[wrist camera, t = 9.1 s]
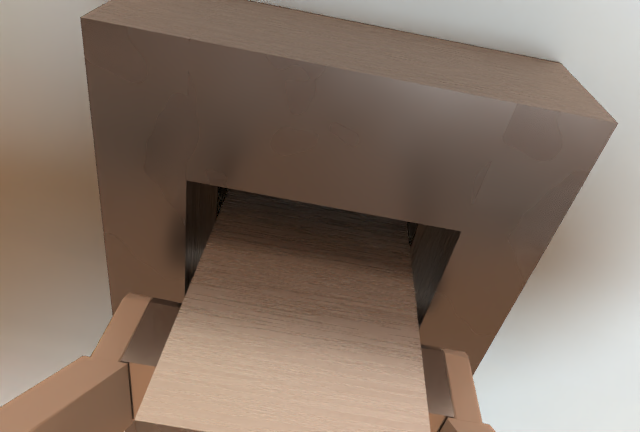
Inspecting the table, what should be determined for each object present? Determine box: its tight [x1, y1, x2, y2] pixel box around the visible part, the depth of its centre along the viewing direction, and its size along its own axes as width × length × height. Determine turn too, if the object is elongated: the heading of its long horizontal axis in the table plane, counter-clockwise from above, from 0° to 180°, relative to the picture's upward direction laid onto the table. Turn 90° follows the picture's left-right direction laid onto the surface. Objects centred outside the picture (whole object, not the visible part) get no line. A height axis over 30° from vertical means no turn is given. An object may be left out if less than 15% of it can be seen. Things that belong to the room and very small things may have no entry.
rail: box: [80, 0, 618, 432], centre depth 15 cm, size 20×9×3 cm, turn 170°
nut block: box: [134, 188, 431, 432], centre depth 10 cm, size 4×4×6 cm
